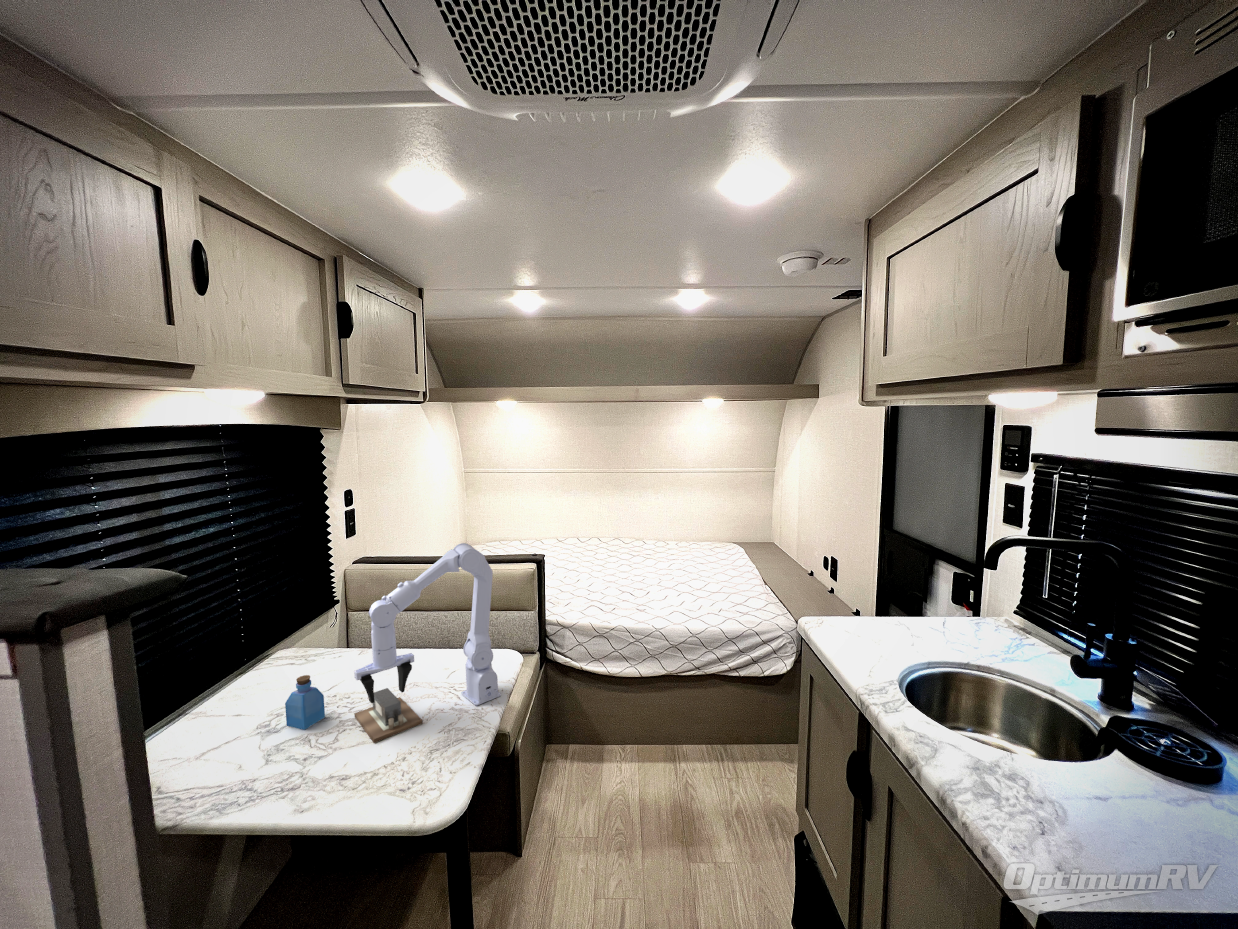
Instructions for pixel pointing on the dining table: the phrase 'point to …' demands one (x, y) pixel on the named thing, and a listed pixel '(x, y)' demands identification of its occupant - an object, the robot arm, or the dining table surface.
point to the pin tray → (380, 731)
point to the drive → (386, 706)
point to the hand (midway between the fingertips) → (387, 696)
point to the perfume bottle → (304, 705)
